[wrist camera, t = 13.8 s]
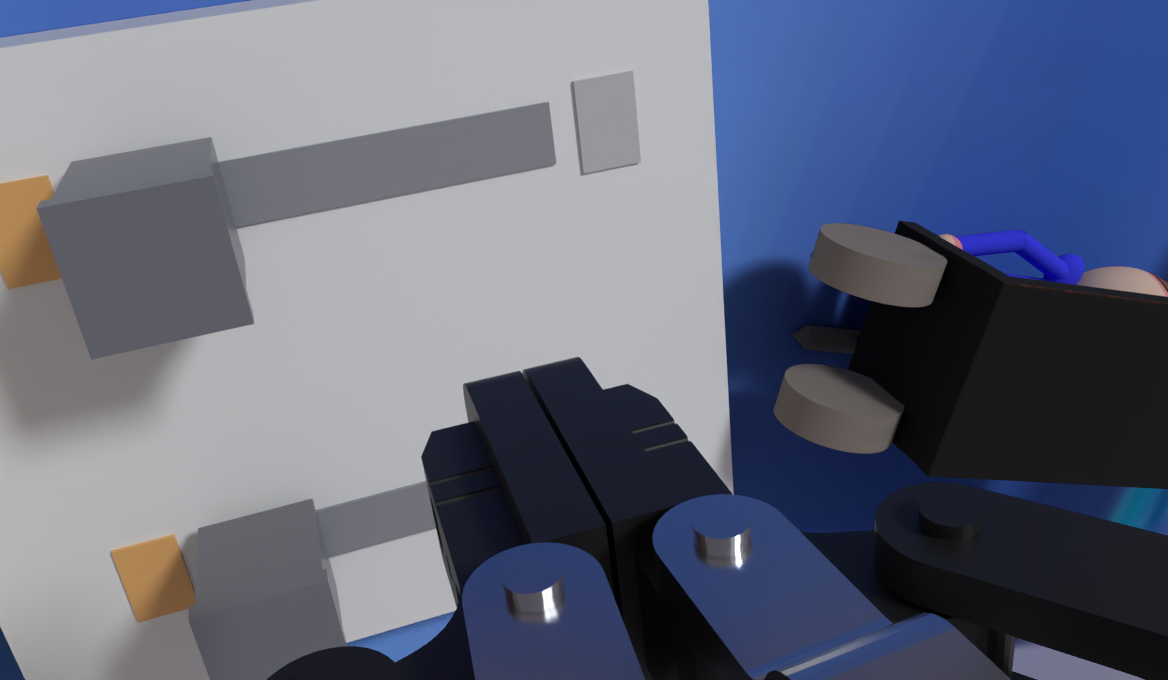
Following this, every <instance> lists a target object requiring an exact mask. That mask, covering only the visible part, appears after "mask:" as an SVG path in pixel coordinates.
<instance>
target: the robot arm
mask: <svg viewBox="0 0 1168 680" xmlns="http://www.w3.org/2000/svg"><path fill="white" fill-rule="evenodd" d="M463 394H464V401H465V406H466V412H467V417H468V423H464V424H460V425H456V426H452V427H448V428H444V429H440V430H436V431H432V432H431V434H430V437H429V439H428V441H427V444H426V446H425V449H424V451H423V454H422V456H421V459H422V464H423V468H424V473H425V478H426V483H427V488H428V492H429V497H430V502H431V507H432V511H433V516H434V521H435V526H436V530H437V535H438V540H439V545H440V549H441V554H442V558H443V562H444V565H445V569H446V572H447V576H448V579H449V583H450V586H451V590H452V593H453V597H454V600H455V604H456V607H457V609H456V611H455V613H454V615H453V617H452V618H451V620H450V621H449V622H448V624H447V625H446V627H445V628H444V629H443V630H442V631H441V632H440V633H439V634H438V635H437V636H436V637H435V638H433V639H432V640H431V641H430V642H428V643H427V644H426V645H424V646H423V647H421V648H420V649H418V650H417V651H415V652H413V653H412V654H410V655H408V656H406V657H405V658H403V659H401V660H399V661H397V662H396V663H395V662H394V661H392V660H391V659H390V658H389V657H388V656H386V655H384V654H382V653H380V652H378V651H375V650H372V649H369V648H363V647H356V646H342V647H334V648H328V649H324V650H320V651H316V652H313V653H310V654H308V655H305V656H302V657H300V658H298V659H296V660H294V661H292V662H290V663H288V664H287V665H285V666H284V667H282V668H280V669H279V670H277V671H276V672H275V673H274V674H272V675H271V676H270V677H269V678H267V679H266V680H1036V679H1033V678H1030V677H1028V676H1025V675H1022V674H1019V673H1016V672H1013V671H1012V667H1013V657H1014V648H1015V638H1020V639H1023V640H1026V641H1029V642H1032V643H1035V644H1038V645H1041V646H1044V647H1047V648H1051V649H1054V650H1057V651H1060V652H1063V653H1066V654H1069V655H1072V656H1076V657H1078V658H1081V659H1085V660H1088V661H1091V662H1094V663H1097V664H1100V665H1103V666H1107V667H1109V668H1113V669H1116V670H1119V671H1122V672H1125V673H1128V674H1131V675H1134V676H1137V677H1140V678H1142V679H1145V680H1168V536H1167V535H1163V534H1159V533H1155V532H1151V531H1147V530H1143V529H1139V528H1135V527H1131V526H1127V525H1123V524H1119V523H1115V522H1111V521H1107V520H1103V519H1099V518H1095V517H1091V516H1087V515H1083V514H1079V513H1075V512H1071V511H1067V510H1063V509H1059V508H1055V507H1051V506H1047V505H1043V504H1039V503H1035V502H1032V501H1028V500H1024V499H1020V498H1016V497H1012V496H1008V495H1004V494H1000V493H996V492H992V491H988V490H984V489H980V488H976V487H972V486H967V485H962V484H956V483H946V482H932V483H921V484H916V485H911V486H908V487H905V488H902V489H900V490H897V491H895V492H893V493H892V494H890V495H889V496H888V497H886V498H885V499H884V500H883V501H882V502H881V503H880V505H879V507H878V509H877V511H876V516H875V531H855V532H836V533H807V532H800V531H799V530H798V529H797V528H796V527H795V526H794V525H793V524H792V523H791V522H790V521H789V520H788V519H787V518H786V517H785V516H784V515H783V514H782V513H781V512H779V511H778V510H777V509H776V508H774V507H772V506H771V505H769V504H767V503H765V502H763V501H760V500H758V499H754V498H750V497H747V496H740V495H733V494H732V493H731V491H730V490H729V489H728V487H727V486H726V485H725V484H724V482H723V481H722V480H721V479H720V477H719V476H718V475H717V473H716V472H715V471H714V470H713V468H712V467H711V466H710V464H709V463H708V462H707V461H706V459H705V458H704V457H703V456H702V454H701V453H700V452H699V450H698V449H697V448H696V447H695V445H694V444H693V443H692V442H691V441H688V437H687V435H686V434H685V433H684V431H683V430H682V429H681V428H680V426H679V425H678V424H675V422H674V419H673V417H672V416H671V415H670V414H669V412H668V411H667V410H666V408H665V407H664V406H663V405H662V403H661V402H660V401H659V400H658V398H656V397H654V396H652V395H650V394H648V393H646V392H644V391H642V390H640V389H637V388H635V387H633V386H631V385H629V384H625V385H620V386H616V387H612V388H608V389H604V390H603V389H602V388H601V386H600V385H599V383H598V382H597V380H596V379H595V378H594V376H593V375H592V373H591V372H590V370H589V369H588V367H587V366H586V365H585V363H584V362H583V360H582V359H581V358H580V357H575V358H570V359H566V360H562V361H557V362H553V363H549V364H545V365H540V366H536V367H532V368H528V369H524V370H523V372H522V373H521V372H520V371H516V372H511V373H507V374H503V375H498V376H494V377H490V378H486V379H481V380H477V381H473V382H468V383H464V384H463Z"/></svg>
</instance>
